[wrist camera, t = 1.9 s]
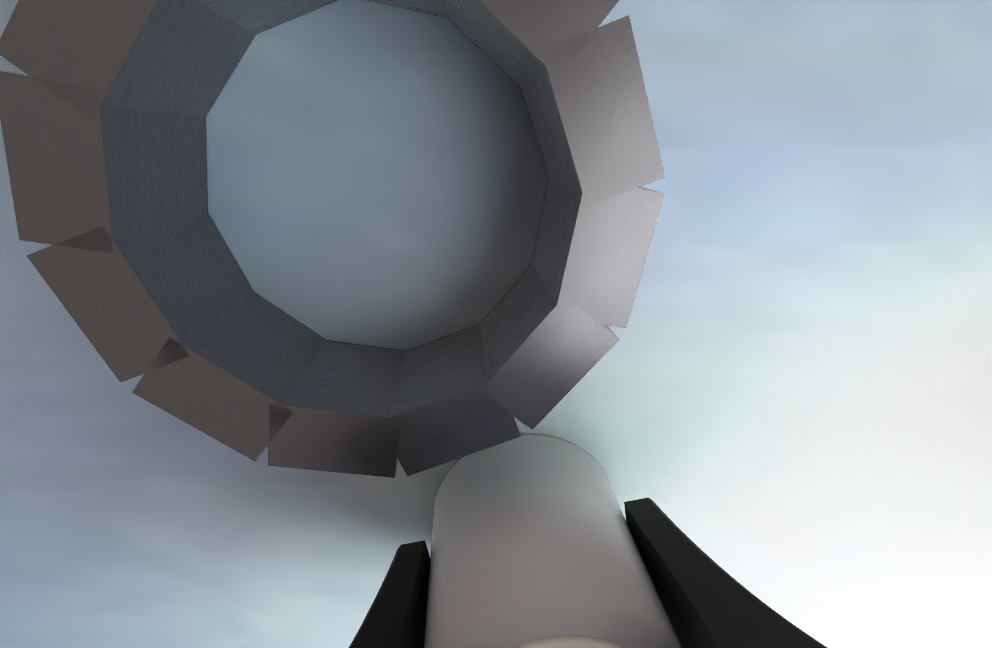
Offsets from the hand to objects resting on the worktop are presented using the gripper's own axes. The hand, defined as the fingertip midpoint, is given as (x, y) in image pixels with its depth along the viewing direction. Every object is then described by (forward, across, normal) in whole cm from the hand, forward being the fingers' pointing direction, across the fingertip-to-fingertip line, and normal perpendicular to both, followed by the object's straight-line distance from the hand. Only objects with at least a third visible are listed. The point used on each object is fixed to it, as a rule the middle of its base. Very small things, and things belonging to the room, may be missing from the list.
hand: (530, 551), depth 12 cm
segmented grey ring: (+1, +2, -9) cm, 9 cm away
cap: (+1, 0, 0) cm, 1 cm away
